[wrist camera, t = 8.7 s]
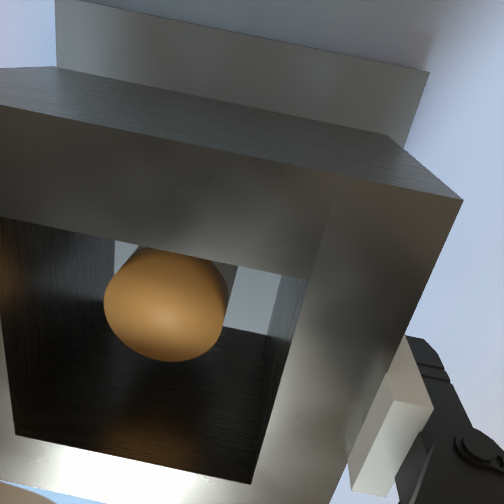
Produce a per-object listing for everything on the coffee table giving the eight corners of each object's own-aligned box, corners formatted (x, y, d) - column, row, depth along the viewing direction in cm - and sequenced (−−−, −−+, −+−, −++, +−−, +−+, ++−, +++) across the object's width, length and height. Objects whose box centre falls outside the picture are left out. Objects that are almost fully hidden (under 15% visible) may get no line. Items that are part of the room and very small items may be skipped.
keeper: (74, 297, 22) (-55, 438, 14) (68, -2, 16) (-174, -65, 7) (327, 349, 22) (347, 521, 14) (421, 71, 16) (561, 85, 7)
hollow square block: (64, 333, 16) (-51, 469, 11) (53, 66, 12) (-148, 74, 6) (305, 383, 16) (309, 546, 11) (386, 134, 12) (463, 199, 6)
